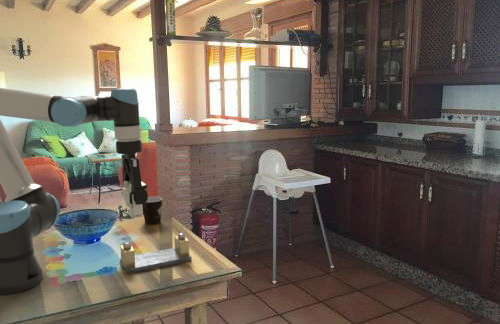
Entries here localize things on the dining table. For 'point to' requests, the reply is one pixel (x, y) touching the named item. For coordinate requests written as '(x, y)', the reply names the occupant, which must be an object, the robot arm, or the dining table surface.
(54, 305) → the dining table surface
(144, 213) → the coffee mug
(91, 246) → the dining table surface
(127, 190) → the pneumatic valve
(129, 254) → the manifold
